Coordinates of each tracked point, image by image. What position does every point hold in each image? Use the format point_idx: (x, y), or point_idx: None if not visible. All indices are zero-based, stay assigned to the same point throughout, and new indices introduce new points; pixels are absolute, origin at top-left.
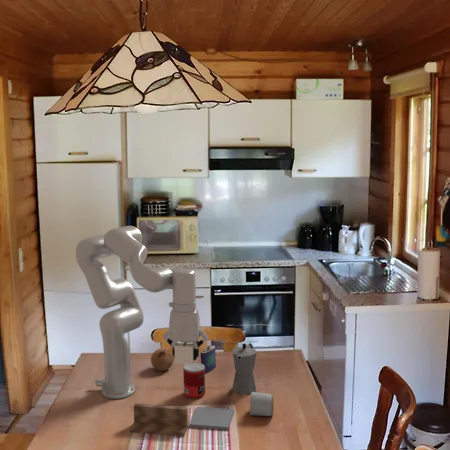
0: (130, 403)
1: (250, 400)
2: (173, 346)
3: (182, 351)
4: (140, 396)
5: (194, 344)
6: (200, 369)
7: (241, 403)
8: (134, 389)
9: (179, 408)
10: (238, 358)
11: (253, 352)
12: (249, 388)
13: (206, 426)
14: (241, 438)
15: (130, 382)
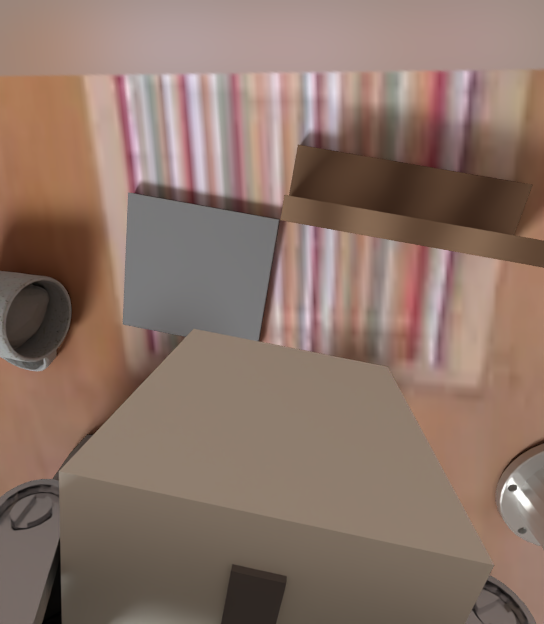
0: (515, 403)
1: (14, 294)
2: (477, 599)
3: (295, 441)
4: (474, 449)
5: (21, 571)
6: None
7: (109, 376)
8: (503, 488)
9: (320, 209)
10: None
11: None
12: (78, 447)
13: (213, 208)
14: (81, 129)
15: (535, 515)
